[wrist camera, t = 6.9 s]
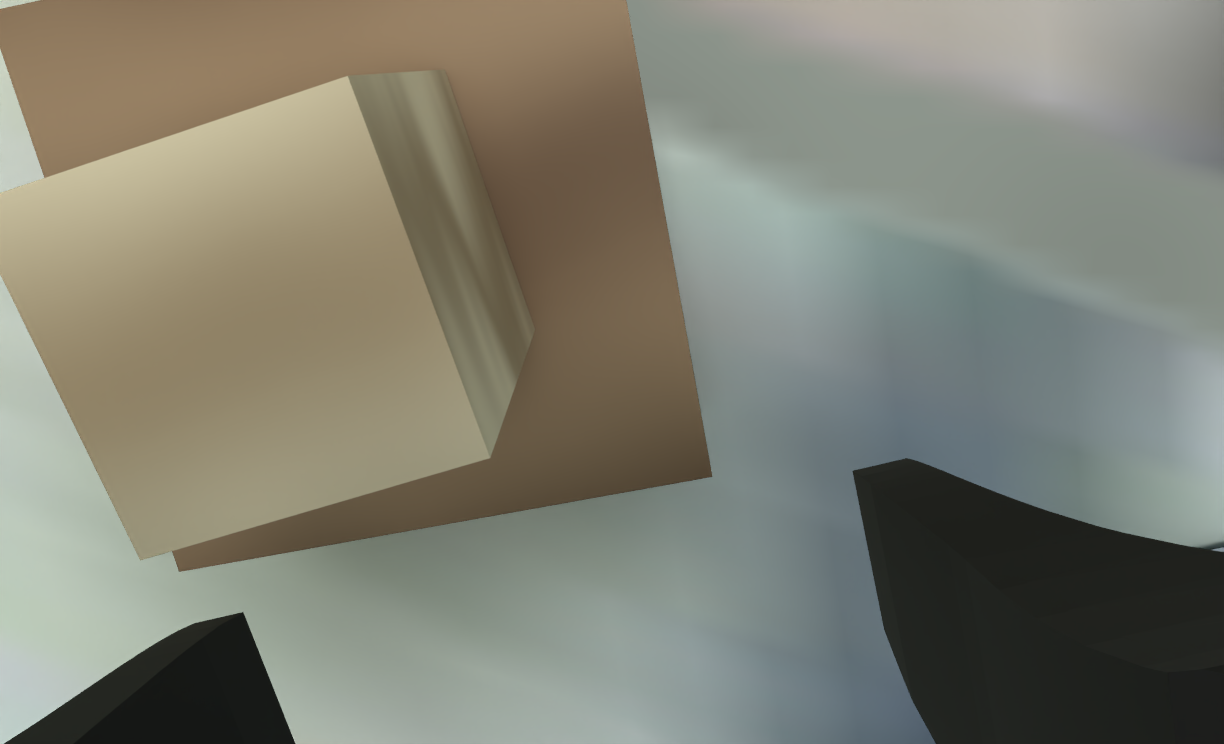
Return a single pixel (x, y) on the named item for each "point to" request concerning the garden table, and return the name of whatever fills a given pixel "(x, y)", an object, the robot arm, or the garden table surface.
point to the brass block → (273, 307)
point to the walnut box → (513, 176)
